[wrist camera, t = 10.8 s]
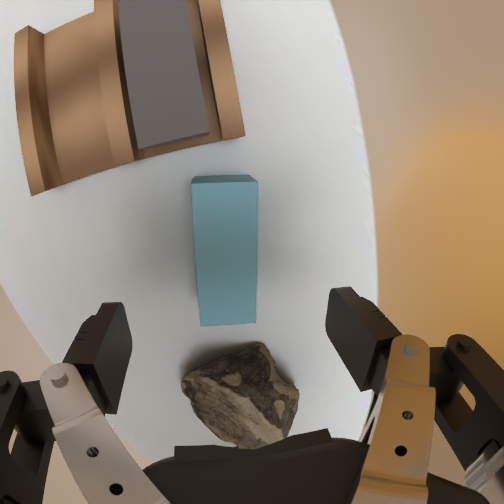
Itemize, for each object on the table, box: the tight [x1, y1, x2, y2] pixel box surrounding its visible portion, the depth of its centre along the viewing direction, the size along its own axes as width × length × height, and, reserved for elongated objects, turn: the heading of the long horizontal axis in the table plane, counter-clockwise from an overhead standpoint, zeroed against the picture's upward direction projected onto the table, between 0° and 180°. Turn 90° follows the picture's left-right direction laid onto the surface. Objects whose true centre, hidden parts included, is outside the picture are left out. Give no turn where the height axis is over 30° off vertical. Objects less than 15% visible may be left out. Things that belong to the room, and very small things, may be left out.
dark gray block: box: [118, 0, 210, 149], centre depth 13 cm, size 9×4×4 cm, turn 10°
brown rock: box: [181, 343, 299, 449], centre depth 23 cm, size 11×9×10 cm
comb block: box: [14, 0, 245, 196], centre depth 14 cm, size 12×14×4 cm
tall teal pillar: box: [191, 175, 258, 326], centre depth 19 cm, size 9×4×4 cm, turn 179°
